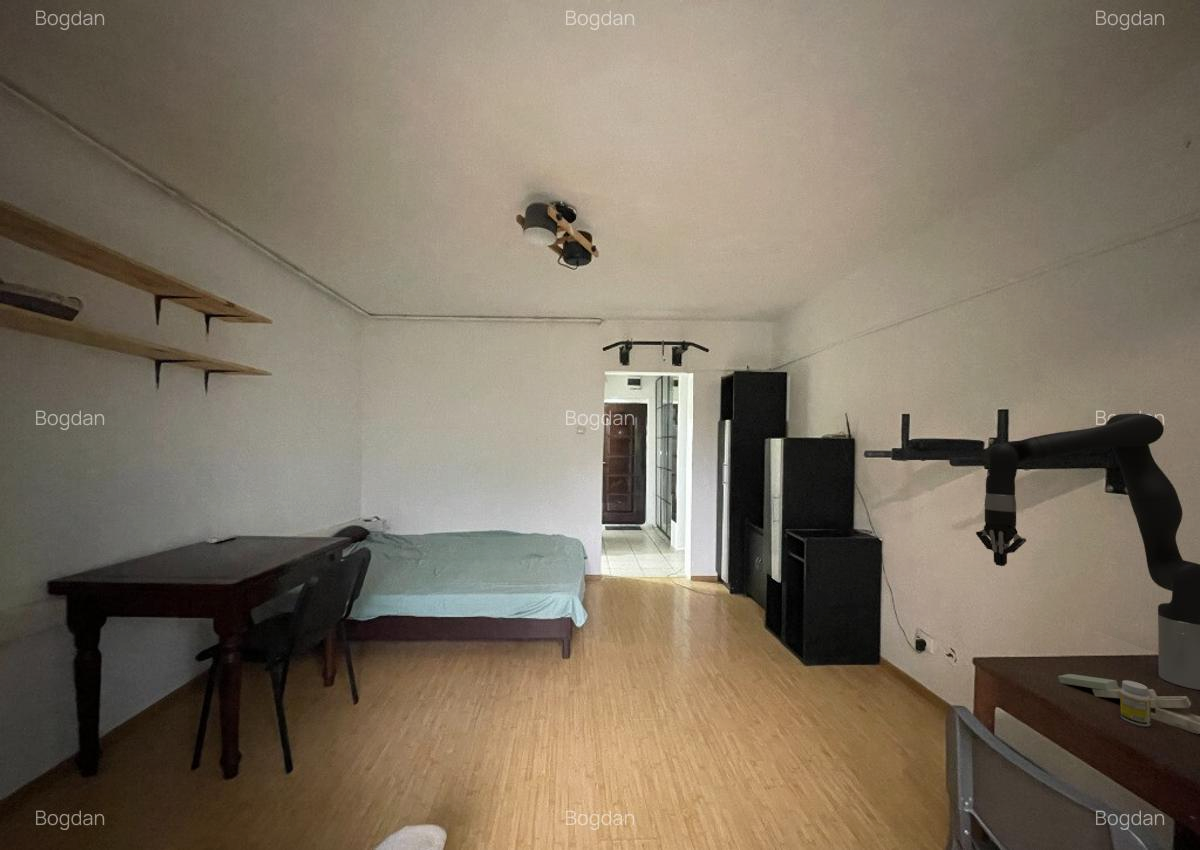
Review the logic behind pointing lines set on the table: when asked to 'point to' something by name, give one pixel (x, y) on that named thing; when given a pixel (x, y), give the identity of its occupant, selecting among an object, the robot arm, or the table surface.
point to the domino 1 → (1088, 681)
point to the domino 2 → (1118, 693)
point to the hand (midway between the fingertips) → (1000, 565)
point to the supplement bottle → (1135, 703)
